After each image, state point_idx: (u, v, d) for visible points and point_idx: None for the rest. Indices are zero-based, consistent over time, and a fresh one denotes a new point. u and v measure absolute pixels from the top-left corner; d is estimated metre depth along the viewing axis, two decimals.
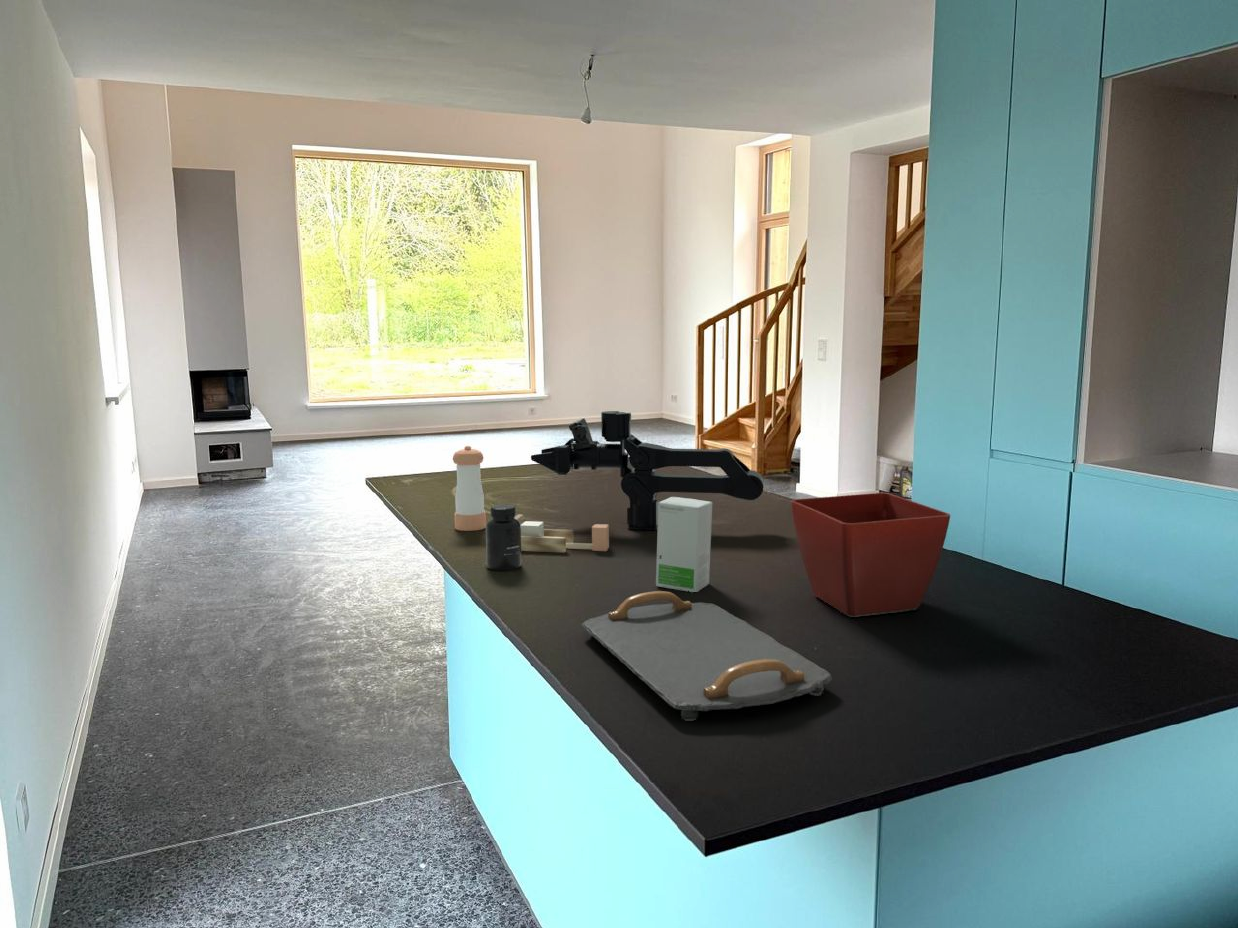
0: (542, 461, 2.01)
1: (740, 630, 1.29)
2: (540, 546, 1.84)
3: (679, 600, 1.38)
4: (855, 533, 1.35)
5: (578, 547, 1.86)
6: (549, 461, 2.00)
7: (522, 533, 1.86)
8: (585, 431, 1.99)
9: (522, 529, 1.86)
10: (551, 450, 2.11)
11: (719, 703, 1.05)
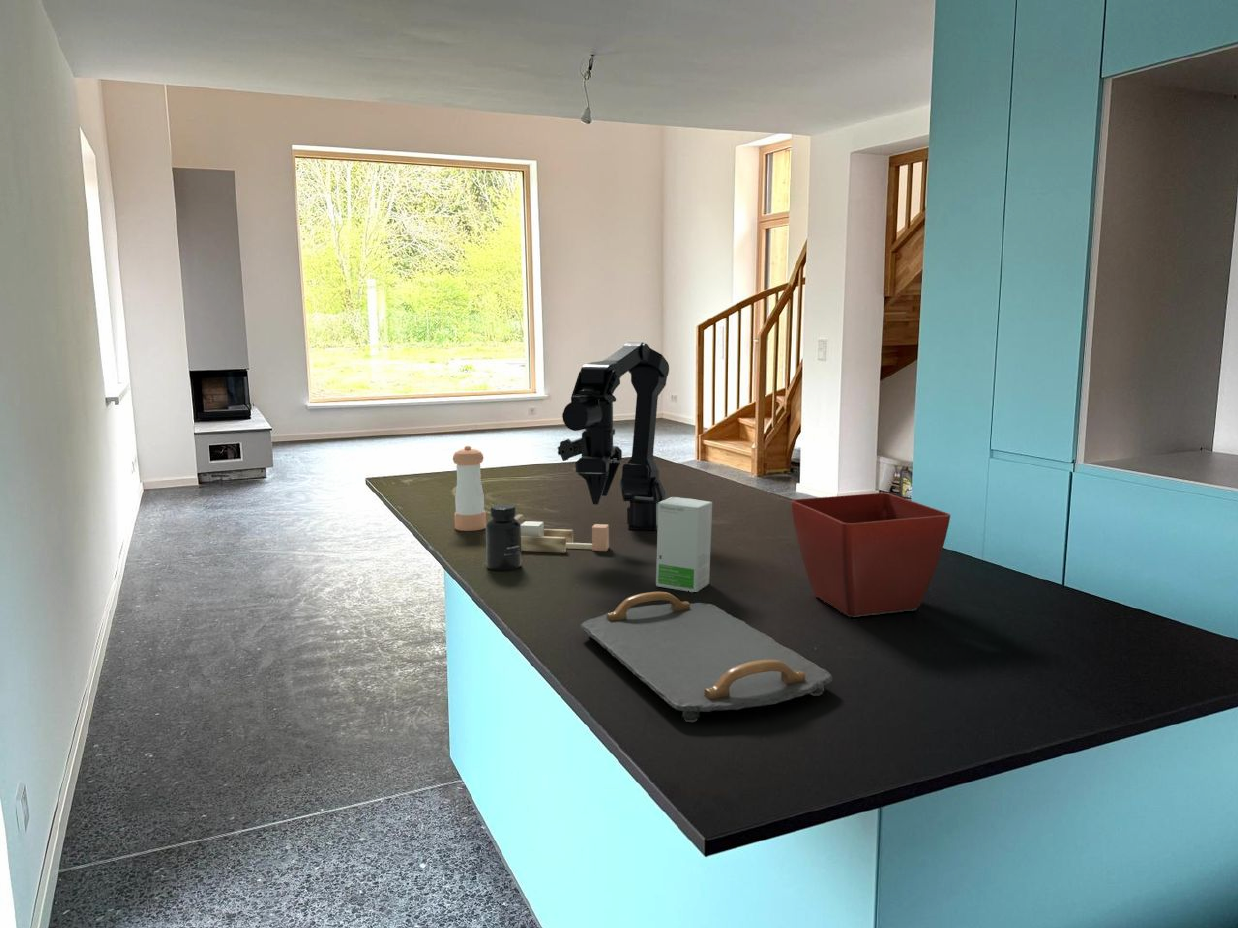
0: (597, 491, 1.78)
1: (739, 630, 1.29)
2: (540, 546, 1.84)
3: (677, 600, 1.38)
4: (855, 533, 1.35)
5: (578, 547, 1.86)
6: (597, 482, 1.77)
7: (522, 533, 1.86)
8: (565, 441, 1.79)
9: (522, 529, 1.86)
10: None
11: (721, 704, 1.05)
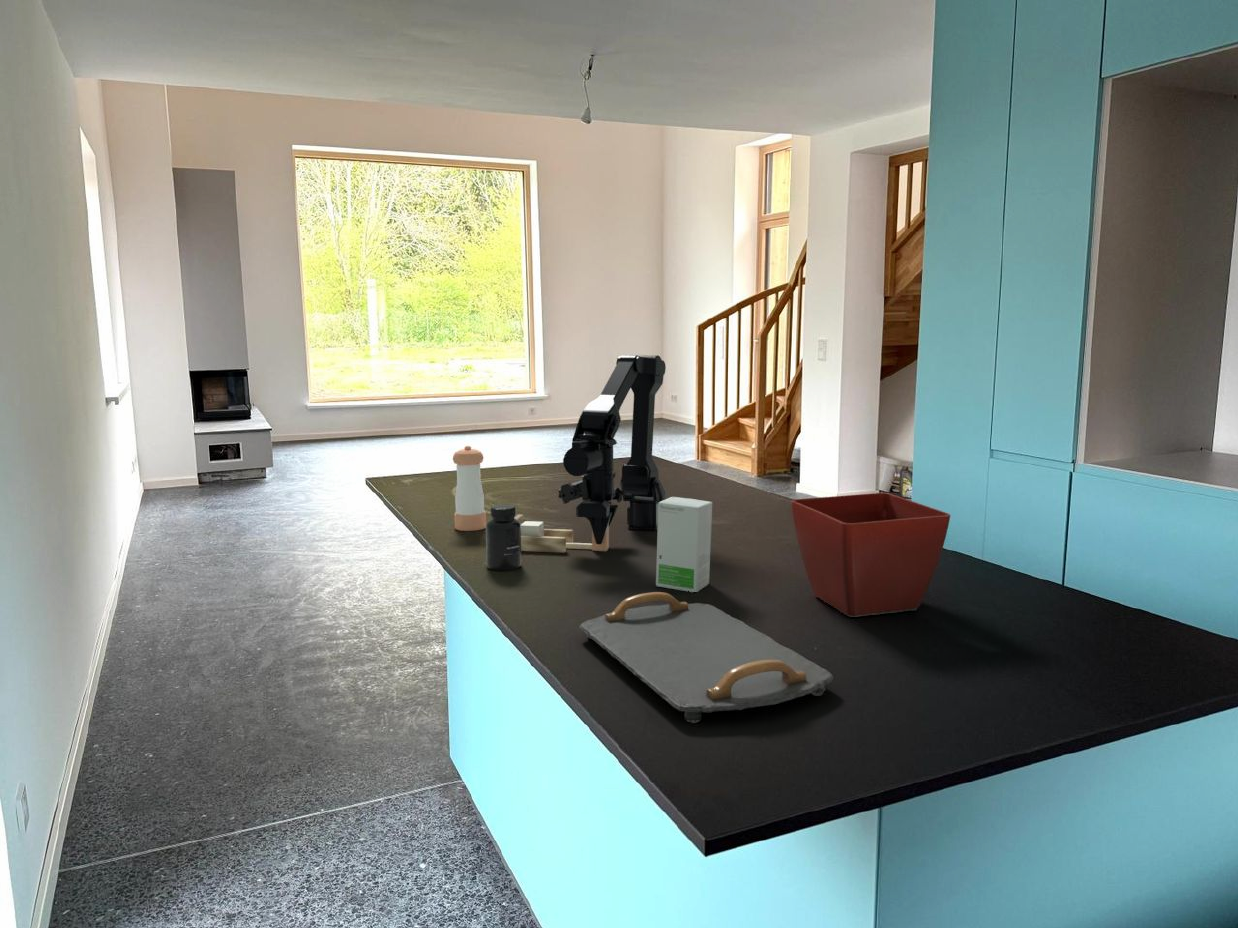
0: (600, 531, 1.82)
1: (738, 630, 1.29)
2: (540, 546, 1.84)
3: (676, 601, 1.38)
4: (855, 533, 1.35)
5: (578, 547, 1.86)
6: (600, 523, 1.82)
7: (522, 533, 1.86)
8: (566, 485, 1.80)
9: (522, 529, 1.86)
10: None
11: (723, 704, 1.04)
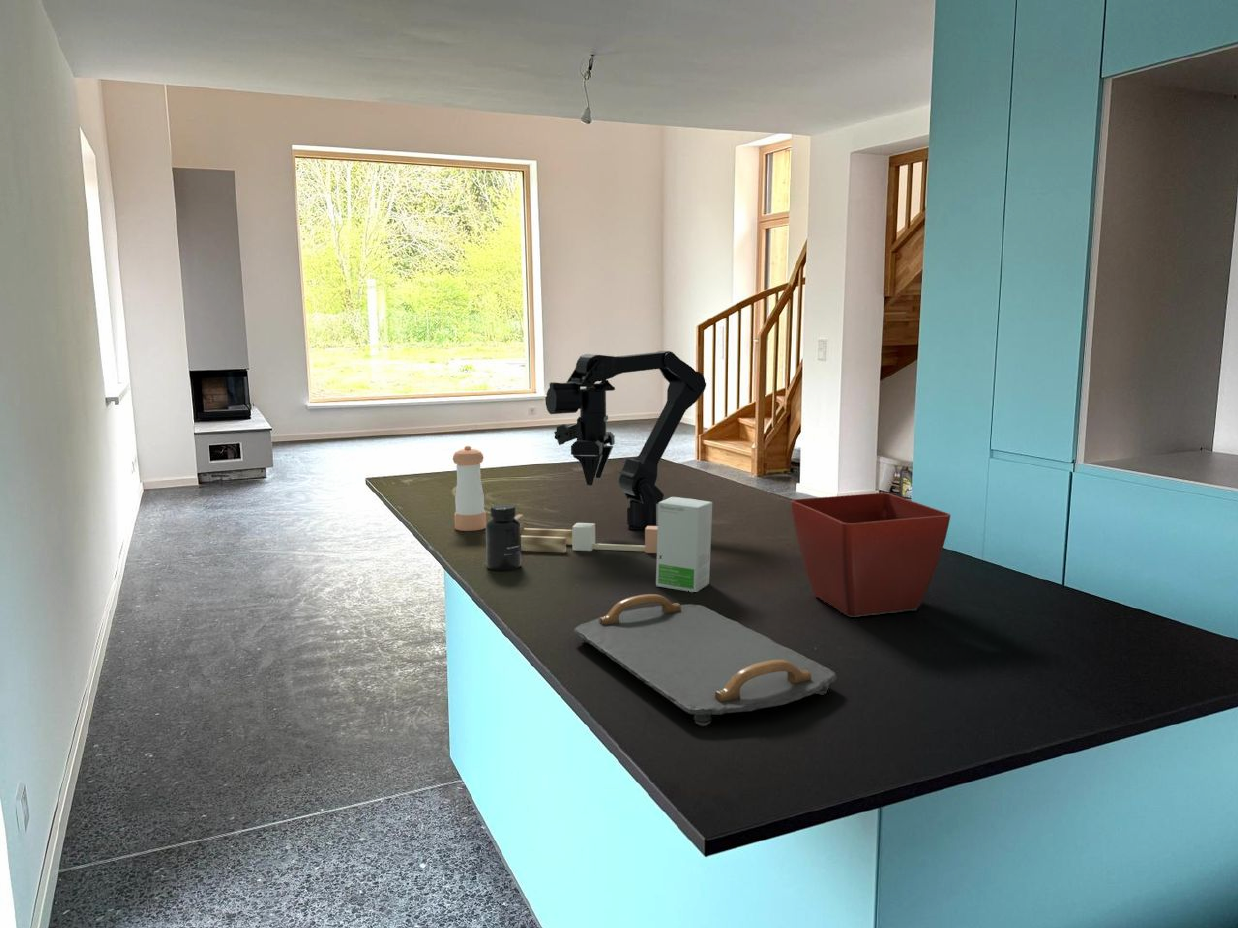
0: (591, 472, 1.91)
1: (734, 631, 1.29)
2: (540, 546, 1.84)
3: (669, 603, 1.37)
4: (855, 533, 1.35)
5: (631, 549, 1.84)
6: (591, 464, 1.90)
7: (574, 535, 1.84)
8: (561, 426, 1.92)
9: (574, 531, 1.84)
10: None
11: (733, 706, 1.04)
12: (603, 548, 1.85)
